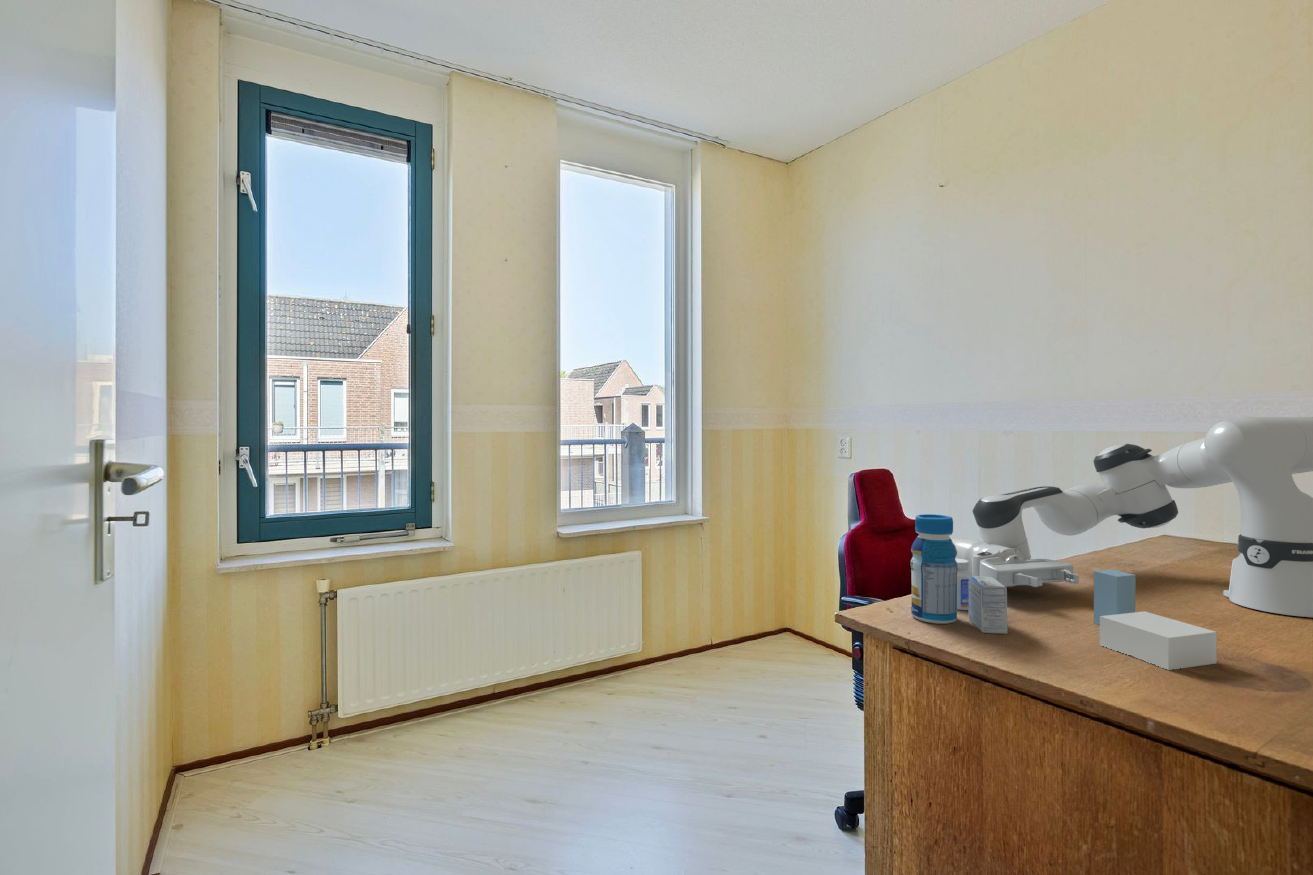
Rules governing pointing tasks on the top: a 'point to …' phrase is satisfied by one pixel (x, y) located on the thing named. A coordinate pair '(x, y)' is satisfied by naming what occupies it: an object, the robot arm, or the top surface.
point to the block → (1113, 593)
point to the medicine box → (988, 604)
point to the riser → (1159, 640)
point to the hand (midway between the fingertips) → (1058, 581)
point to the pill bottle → (963, 584)
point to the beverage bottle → (934, 570)
